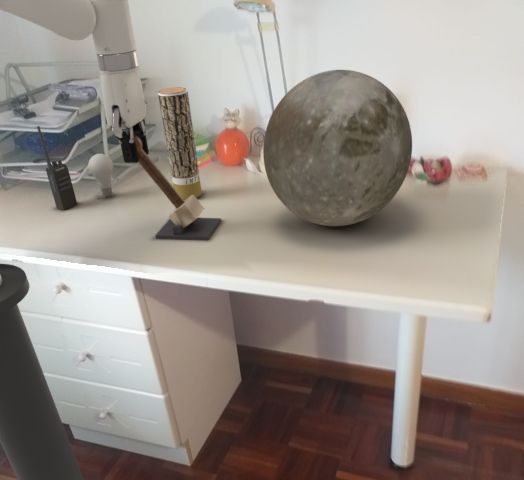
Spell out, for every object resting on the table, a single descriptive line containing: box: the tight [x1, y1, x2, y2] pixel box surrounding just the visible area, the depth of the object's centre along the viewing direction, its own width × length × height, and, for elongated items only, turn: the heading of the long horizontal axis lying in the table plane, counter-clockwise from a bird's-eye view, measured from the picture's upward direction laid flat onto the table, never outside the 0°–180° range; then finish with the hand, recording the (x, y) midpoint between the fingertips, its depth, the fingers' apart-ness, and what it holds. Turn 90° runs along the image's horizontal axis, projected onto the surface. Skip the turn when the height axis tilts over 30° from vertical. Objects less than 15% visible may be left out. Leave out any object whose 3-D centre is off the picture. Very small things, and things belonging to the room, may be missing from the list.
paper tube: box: [157, 86, 203, 200], centre depth 137 cm, size 7×7×25 cm
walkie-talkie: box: [36, 125, 78, 211], centre depth 139 cm, size 5×3×20 cm
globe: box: [262, 69, 413, 227], centre depth 116 cm, size 30×30×30 cm
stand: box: [155, 217, 222, 241], centre depth 126 cm, size 12×10×2 cm
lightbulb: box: [88, 153, 114, 198], centre depth 145 cm, size 6×6×11 cm
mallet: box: [133, 134, 205, 228], centre depth 121 cm, size 22×6×5 cm
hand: (136, 157), depth 119 cm, fingers closed on mallet, 4 cm apart
